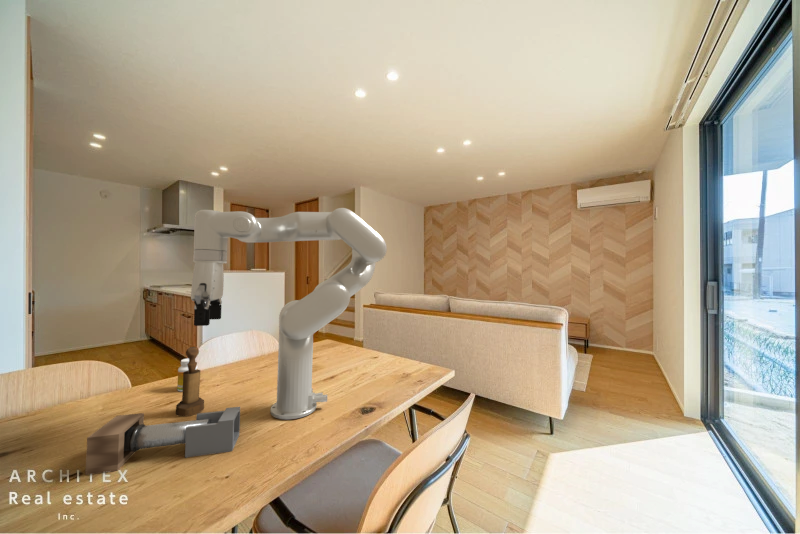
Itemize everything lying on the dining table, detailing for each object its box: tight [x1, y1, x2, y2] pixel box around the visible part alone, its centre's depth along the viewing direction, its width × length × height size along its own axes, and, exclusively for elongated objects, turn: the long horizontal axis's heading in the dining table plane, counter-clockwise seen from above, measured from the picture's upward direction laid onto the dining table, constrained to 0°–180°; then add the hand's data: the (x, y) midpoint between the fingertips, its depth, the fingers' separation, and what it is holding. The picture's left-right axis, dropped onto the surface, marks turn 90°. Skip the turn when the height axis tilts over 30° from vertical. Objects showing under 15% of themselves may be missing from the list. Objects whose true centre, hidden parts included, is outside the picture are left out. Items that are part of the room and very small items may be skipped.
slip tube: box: [124, 419, 211, 453], centre depth 64 cm, size 17×5×5 cm, turn 107°
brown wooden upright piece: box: [175, 346, 205, 417], centre depth 82 cm, size 7×6×18 cm
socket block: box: [85, 412, 145, 476], centre depth 61 cm, size 5×9×7 cm, turn 17°
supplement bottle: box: [176, 357, 199, 393], centre depth 98 cm, size 5×5×10 cm
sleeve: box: [184, 406, 241, 458], centre depth 67 cm, size 9×7×7 cm
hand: (208, 322), depth 77 cm, fingers open, 9 cm apart
